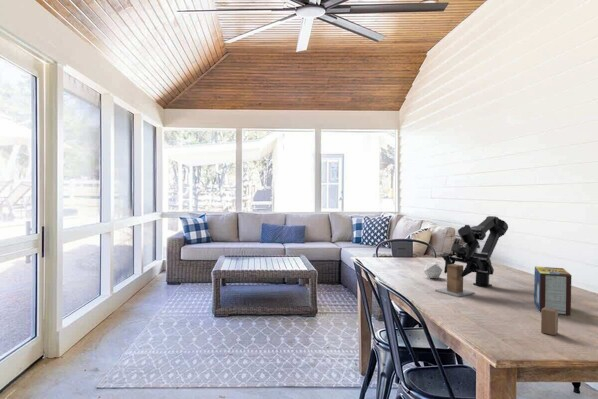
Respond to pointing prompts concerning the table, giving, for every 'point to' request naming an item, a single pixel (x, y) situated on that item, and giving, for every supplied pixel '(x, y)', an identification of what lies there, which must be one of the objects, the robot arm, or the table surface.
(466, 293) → the coaster
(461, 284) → the walnut block
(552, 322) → the wooden block
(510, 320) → the table surface
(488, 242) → the robot arm
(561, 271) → the protein box
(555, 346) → the table surface
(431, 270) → the die
